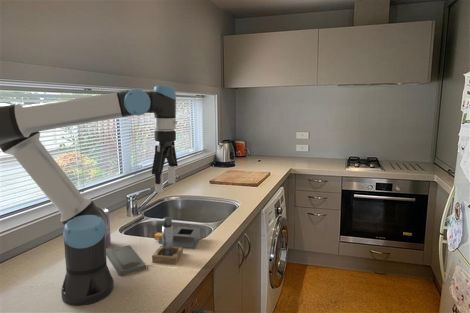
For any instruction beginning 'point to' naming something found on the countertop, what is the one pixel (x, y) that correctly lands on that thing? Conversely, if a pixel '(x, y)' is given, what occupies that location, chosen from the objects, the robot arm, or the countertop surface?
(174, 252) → the square wooden tray
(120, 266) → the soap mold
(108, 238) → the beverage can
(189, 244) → the socket block
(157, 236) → the block
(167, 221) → the gray rectangular bar
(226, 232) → the countertop surface
